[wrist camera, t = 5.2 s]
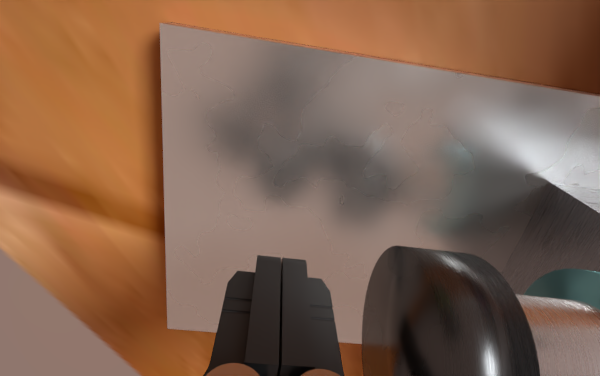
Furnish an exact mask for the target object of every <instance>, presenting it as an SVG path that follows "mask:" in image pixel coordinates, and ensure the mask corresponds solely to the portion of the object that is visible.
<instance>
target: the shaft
mask: <svg viewBox="0 0 600 376" xmlns="http://www.w3.org/2000/svg"><path fill="white" fill-rule="evenodd" d="M362 362H363V374H364V376H600V271H592V270H583V269H560V270H555V271H552V272H549V273H547V274H545V275H543V276H541V277H540V278H538V279H537V280H536V281H534V282H533V283H532V284H531V285H530V287H529V288H528V289H527V290H526V292H525V293H524V295H519V294H515V293H514V291H513V290H512V288H511V286H510V285H509V284H508V282H507V281H506V280H505V278H504V277H503V276H502V275H501V274H500V273H499V272H498V271H497V269H496V268H495V267H493V266H492V265H491V264H490V263H488V262H487V261H486V260H484V259H482V258H480V257H479V256H476V255H473V254H469V253H460V252H451V251H442V250H433V249H424V248H415V247H406V246H397V245H396V246H392V247H390V248H388V249H387V250H385V251H384V252H383V253H382V255H381V256H380V257H379V259H378V261H377V262H376V264H375V266H374V269H373V271H372V274H371V277H370V280H369V283H368V287H367V292H366V297H365V303H364V311H363V321H362Z"/></svg>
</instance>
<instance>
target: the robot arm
mask: <svg viewBox="0 0 600 376" xmlns="http://www.w3.org/2000/svg"><path fill="white" fill-rule="evenodd" d="M332 307H333V306H332V300H331V294H330V291H329V289H328V288H327V286H326V285H325V283H324V282H323V280H322V279H320V278H310V277H308V275H307V264H306V260H301V259H292V258H282V261H281V257H271V256H261V255H257V262H256V270H255V272H246V271H237V272H236V273H235V274H234V275H233V277H232V278H231V279H230V280H229V281H228V283H227V288H226V292H225V297H224V301H223V306H222V311H221V315H220V320H219V324H218V329H217V333H216V338H215V343H214V347H213V352H212V356H211V361H210V364H209V367H208V369H207V371H206V372H205V374H204V375H203V376H344V372H343V367H342V361H341V355H340V349H339V343H338V337H337V330H336V324H335V322H334V319H335V318H334V312H333V309H332Z"/></svg>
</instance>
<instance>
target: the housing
mask: <svg viewBox="0 0 600 376" xmlns="http://www.w3.org/2000/svg"><path fill="white" fill-rule="evenodd" d="M160 57H161V97H162V136H163V175H164V215H165V254H166V294H167V329H178V330H191V331H203V332H216V333H217V329H218V324H219V320H220V315H221V311H222V306H223V301H224V297H225V292H226V288H227V283H228V281H229V280H230V279H231V278H232V277H233V275H234V274H235V273H236V272H237V271H246V272H255V270H256V262H257V255H261V256H271V257H281V261H282V258H292V259H301V260H306V264H307V275H308V277H310V278H320V279H322V280H323V282H324V283H325V285H326V286H327V288H328V289H329V291H330V294H331V300H332V306H333V307H332V309H333V312H334V318H335V319H334V322H335V324H336V330H337V337H338V342H343V343H355V344H362V321H363V311H364V303H365V297H366V292H367V287H368V283H369V280H370V277H371V274H372V271H373V269H374V266H375V264H376V262H377V261H378V259H379V257H380V256H381V255H382V253H383V252H384V251H385V250H387V249H388V248H390V247H392V246H396V245H397V246H406V247H415V248H424V249H433V250H442V251H451V252H460V253H469V254H473V255H476V256H479V257H480V258H482V259H484V260H486V261H487V262H488V263H490V264H491V265H492V266H493V267H495V268H496V269H497V271H498V272H499V273H500V274H501V275H502V276H503V277H504V278H505V280H506V281H507V282H508V284H509V285H510V286H511V288H512V290H513V291H514V293H515V294H519V295H524V293H525V292H526V290H527V289H528V288H529V287H530V285H531V284H532V283H533V282H534V281H536V280H537V279H538V278H540V277H541V276H543V275H545V274H547V273H549V272H552V271H555V270H560V269H583V270H592V271H600V94H594V93H589V92H583V91H577V90H571V89H565V88H559V87H553V86H547V85H541V84H535V83H529V82H523V81H517V80H511V79H505V78H499V77H493V76H487V75H481V74H476V73H470V72H464V71H458V70H452V69H446V68H440V67H434V66H428V65H422V64H416V63H410V62H404V61H398V60H392V59H386V58H380V57H374V56H369V55H363V54H357V53H351V52H345V51H339V50H333V49H327V48H321V47H315V46H309V45H303V44H297V43H291V42H285V41H279V40H273V39H267V38H261V37H256V36H250V35H244V34H238V33H232V32H226V31H220V30H214V29H208V28H202V27H196V26H190V25H184V24H178V23H172V22H170V23H160Z"/></svg>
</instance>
